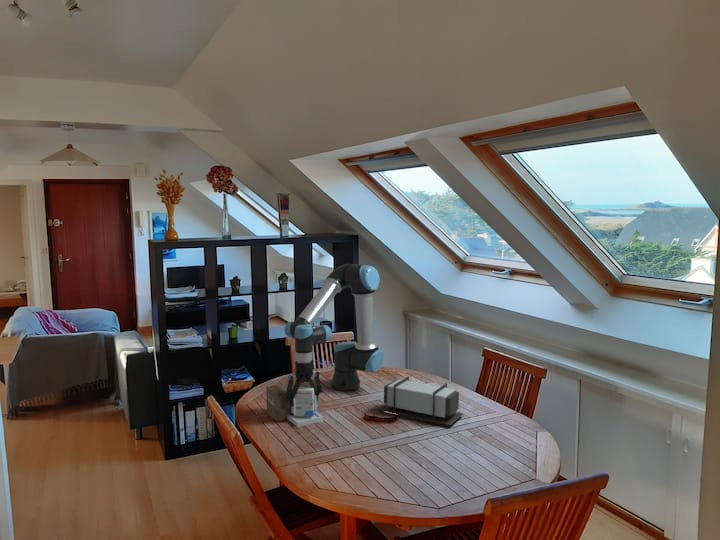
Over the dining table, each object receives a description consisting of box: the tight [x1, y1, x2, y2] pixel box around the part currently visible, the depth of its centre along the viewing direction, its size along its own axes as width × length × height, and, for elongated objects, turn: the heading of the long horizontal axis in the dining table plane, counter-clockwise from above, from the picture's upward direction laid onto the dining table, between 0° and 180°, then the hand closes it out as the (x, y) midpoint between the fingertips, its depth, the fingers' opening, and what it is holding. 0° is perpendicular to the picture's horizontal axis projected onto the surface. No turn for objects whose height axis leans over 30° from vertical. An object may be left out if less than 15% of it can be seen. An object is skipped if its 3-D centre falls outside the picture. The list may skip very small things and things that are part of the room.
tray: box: [286, 410, 324, 428], centre depth 246 cm, size 12×12×2 cm
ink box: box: [294, 386, 316, 416], centre depth 245 cm, size 9×5×12 cm, turn 84°
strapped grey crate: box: [378, 376, 464, 428], centre depth 251 cm, size 15×15×35 cm
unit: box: [265, 383, 294, 422], centre depth 250 cm, size 8×12×12 cm
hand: (304, 410), depth 245 cm, fingers closed on ink box, 9 cm apart
